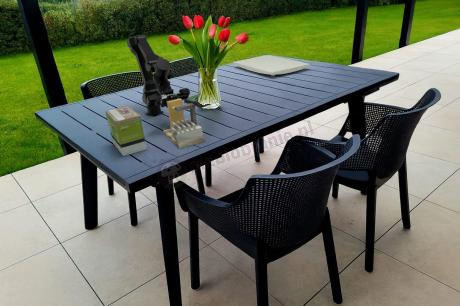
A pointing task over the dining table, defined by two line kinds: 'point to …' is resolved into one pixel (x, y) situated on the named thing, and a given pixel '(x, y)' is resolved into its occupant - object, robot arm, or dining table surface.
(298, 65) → the board
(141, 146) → the tea box
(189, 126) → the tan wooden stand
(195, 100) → the disk drive
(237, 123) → the dining table surface
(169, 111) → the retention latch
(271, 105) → the dining table surface
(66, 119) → the dining table surface
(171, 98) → the robot arm
